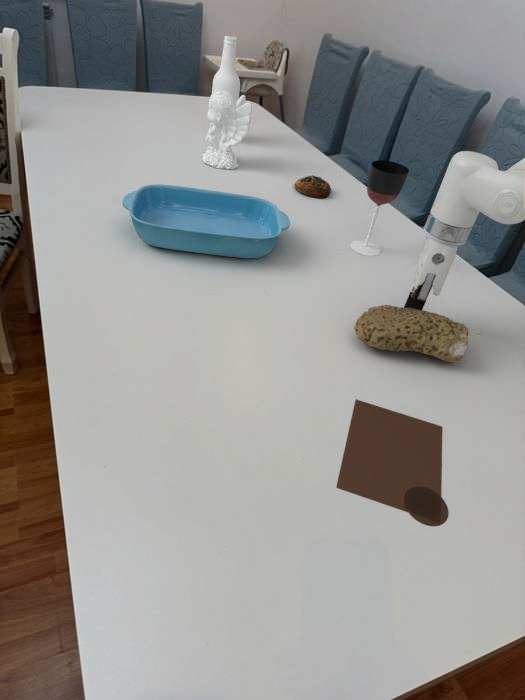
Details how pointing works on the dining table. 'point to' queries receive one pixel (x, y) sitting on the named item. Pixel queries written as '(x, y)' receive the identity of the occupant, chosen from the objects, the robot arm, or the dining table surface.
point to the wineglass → (381, 195)
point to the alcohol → (227, 71)
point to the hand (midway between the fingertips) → (411, 312)
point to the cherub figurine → (226, 128)
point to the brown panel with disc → (395, 462)
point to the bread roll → (313, 186)
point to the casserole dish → (205, 220)
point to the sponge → (412, 332)
